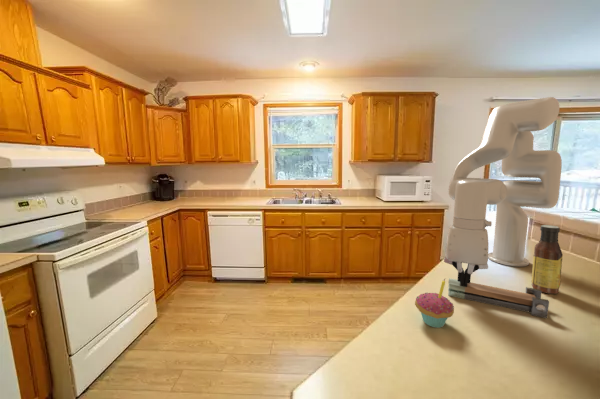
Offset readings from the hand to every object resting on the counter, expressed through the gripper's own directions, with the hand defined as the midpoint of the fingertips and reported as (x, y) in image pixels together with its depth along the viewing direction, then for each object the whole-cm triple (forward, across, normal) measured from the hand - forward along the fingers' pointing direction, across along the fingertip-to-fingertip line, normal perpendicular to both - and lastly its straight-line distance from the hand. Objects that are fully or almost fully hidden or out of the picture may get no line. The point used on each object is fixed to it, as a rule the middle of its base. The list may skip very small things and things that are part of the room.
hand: (463, 284), depth 74 cm
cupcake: (+4, +7, +17) cm, 19 cm away
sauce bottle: (+4, -22, -16) cm, 27 cm away
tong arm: (+2, -6, -1) cm, 7 cm away
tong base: (+4, -8, -1) cm, 9 cm away
